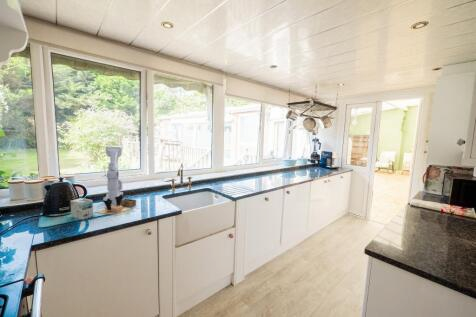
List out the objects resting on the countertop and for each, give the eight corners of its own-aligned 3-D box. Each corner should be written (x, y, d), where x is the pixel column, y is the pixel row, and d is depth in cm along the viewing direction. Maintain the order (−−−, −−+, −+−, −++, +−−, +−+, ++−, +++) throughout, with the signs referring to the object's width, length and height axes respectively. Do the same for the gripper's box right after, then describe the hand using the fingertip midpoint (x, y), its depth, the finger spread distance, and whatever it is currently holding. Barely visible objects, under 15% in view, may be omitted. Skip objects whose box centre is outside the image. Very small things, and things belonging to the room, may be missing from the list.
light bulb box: (93, 216, 128) (93, 199, 127) (82, 220, 121) (81, 202, 120) (82, 213, 131) (81, 197, 130) (70, 217, 125) (69, 200, 124)
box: (120, 206, 146) (120, 200, 146) (125, 204, 151) (125, 198, 151) (131, 207, 145) (131, 201, 144) (136, 205, 149) (135, 199, 149)
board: (95, 213, 133) (95, 212, 132) (112, 206, 146) (112, 205, 146) (118, 216, 129) (118, 215, 129) (133, 208, 142) (133, 208, 142)
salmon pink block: (104, 211, 135) (104, 207, 134) (111, 208, 140) (111, 204, 140) (116, 212, 133) (116, 208, 132) (123, 210, 138) (122, 206, 138)
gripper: (109, 191, 127) (109, 212, 128) (126, 186, 141) (126, 205, 142) (100, 190, 129) (100, 211, 130) (118, 185, 143) (118, 204, 144)
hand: (113, 208), depth 136 cm, fingers open, 7 cm apart
